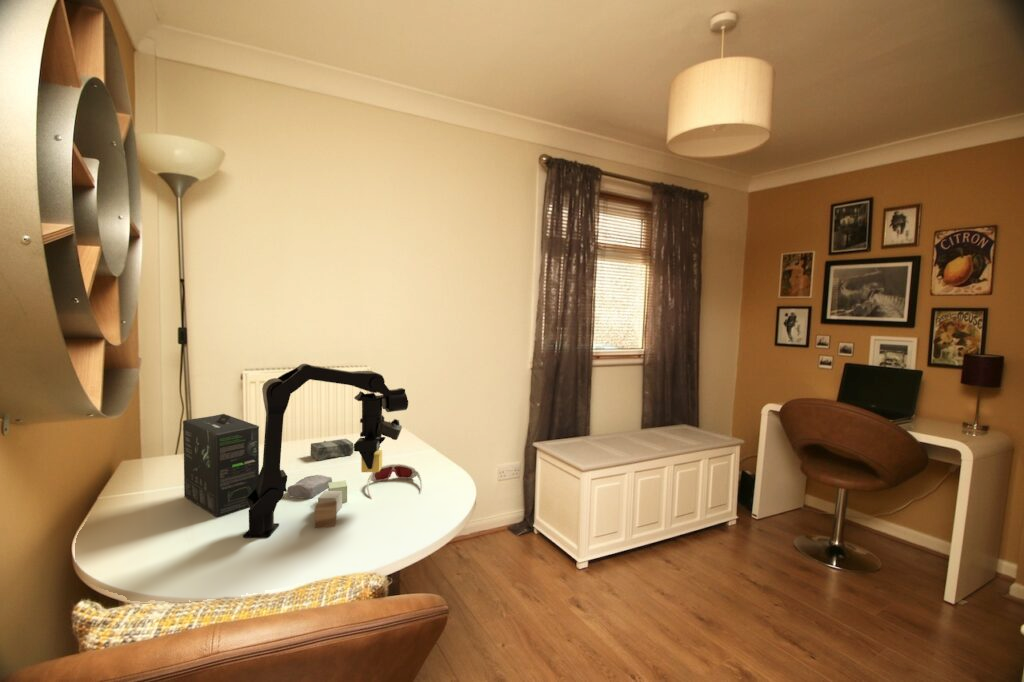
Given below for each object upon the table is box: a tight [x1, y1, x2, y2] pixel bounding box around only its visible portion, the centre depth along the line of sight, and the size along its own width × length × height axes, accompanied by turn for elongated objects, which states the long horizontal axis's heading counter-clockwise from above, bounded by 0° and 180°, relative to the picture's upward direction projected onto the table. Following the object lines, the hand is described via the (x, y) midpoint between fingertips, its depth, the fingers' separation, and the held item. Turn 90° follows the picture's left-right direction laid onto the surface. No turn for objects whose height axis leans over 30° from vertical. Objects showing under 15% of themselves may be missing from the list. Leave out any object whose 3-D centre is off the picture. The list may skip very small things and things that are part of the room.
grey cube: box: [317, 490, 343, 514], centre depth 130 cm, size 5×5×5 cm
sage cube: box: [327, 480, 348, 504], centre depth 138 cm, size 5×5×5 cm
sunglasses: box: [366, 463, 423, 500], centre depth 149 cm, size 17×17×5 cm
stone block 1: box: [286, 474, 333, 499], centre depth 145 cm, size 12×5×10 cm
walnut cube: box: [314, 501, 338, 529], centre depth 123 cm, size 5×5×5 cm
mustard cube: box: [360, 449, 383, 473], centre depth 134 cm, size 5×5×5 cm
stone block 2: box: [310, 438, 354, 462], centre depth 179 cm, size 9×14×5 cm, turn 131°
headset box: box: [182, 413, 260, 518], centre depth 135 cm, size 22×12×26 cm, turn 56°
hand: (371, 465), depth 134 cm, fingers closed on mustard cube, 5 cm apart
